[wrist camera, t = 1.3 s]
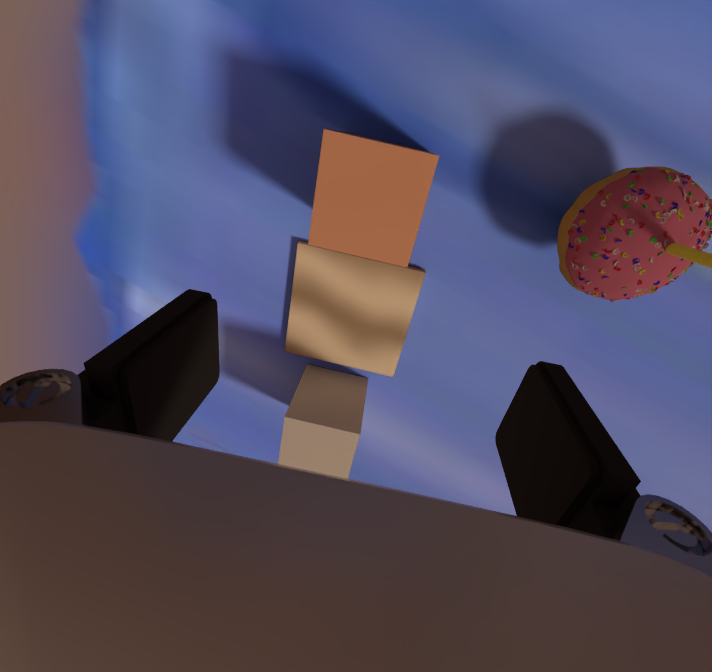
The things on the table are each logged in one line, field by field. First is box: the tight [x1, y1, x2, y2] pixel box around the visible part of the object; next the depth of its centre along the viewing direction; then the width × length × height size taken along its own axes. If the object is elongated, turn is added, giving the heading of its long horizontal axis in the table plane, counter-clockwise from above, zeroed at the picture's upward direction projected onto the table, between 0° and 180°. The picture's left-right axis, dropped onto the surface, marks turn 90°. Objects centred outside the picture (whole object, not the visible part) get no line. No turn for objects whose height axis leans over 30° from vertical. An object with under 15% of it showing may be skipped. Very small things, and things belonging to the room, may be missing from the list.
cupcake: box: [557, 167, 712, 302], centre depth 22 cm, size 9×8×12 cm
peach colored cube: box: [308, 129, 439, 268], centre depth 24 cm, size 6×6×8 cm
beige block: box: [278, 364, 368, 479], centre depth 35 cm, size 6×6×8 cm
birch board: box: [285, 241, 426, 377], centre depth 33 cm, size 11×11×1 cm
